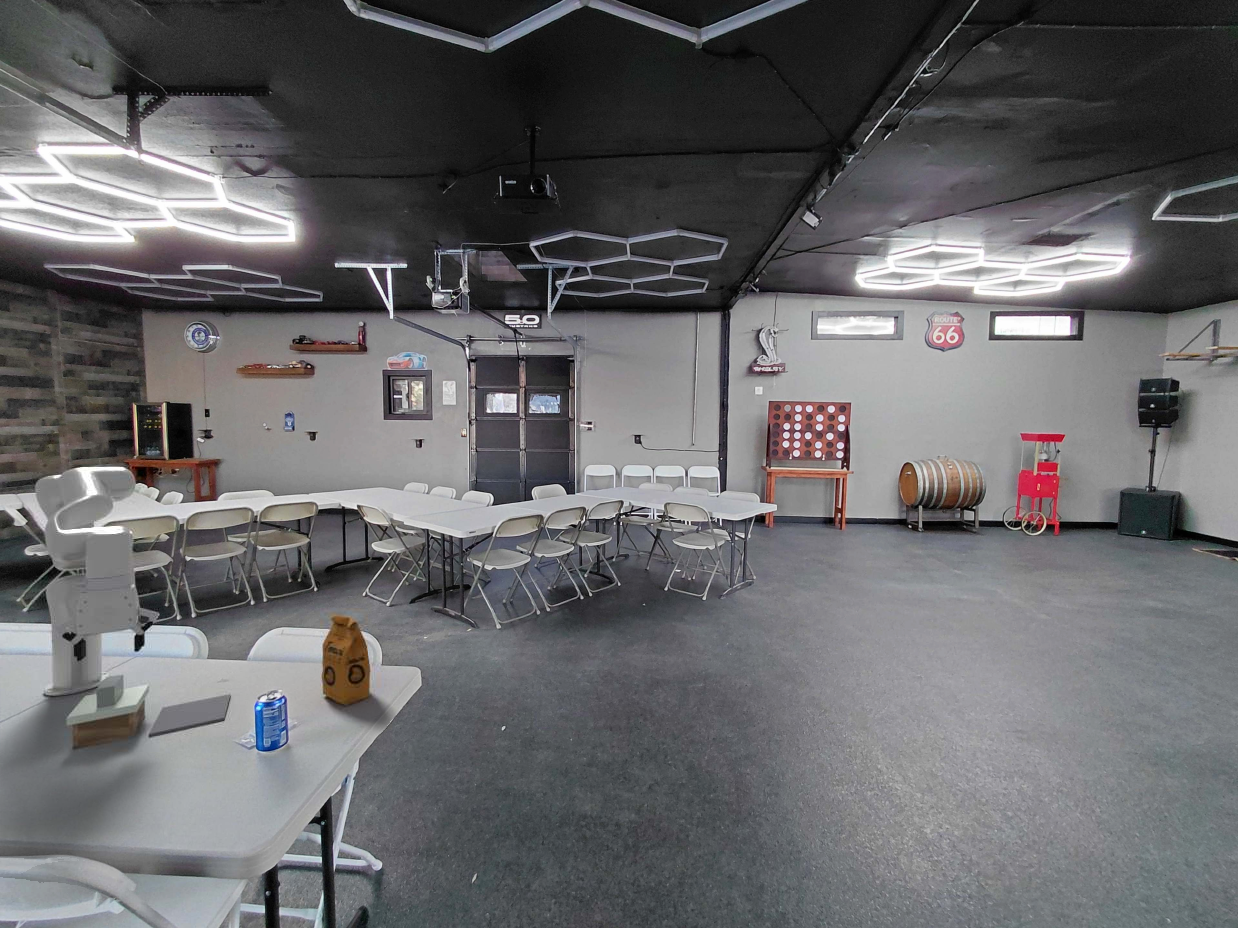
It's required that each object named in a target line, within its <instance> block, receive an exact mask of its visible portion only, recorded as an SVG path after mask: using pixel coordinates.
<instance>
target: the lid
mask: <svg viewBox="0 0 1238 928" xmlns="http://www.w3.org/2000/svg"><path fill="white" fill-rule="evenodd" d="M124 681H125V680H124V674H118V675H117V674H115V675H112V676H110V677H106V678H105V679H104V681H103V682H102V683H101V684H100V685H99V686H97V688H96V689H95V691H96V693H95V694H88V695H84V697H82V699H81V700H80V701H79V702H78V703H77V705H76V706H75V707H74V709H72V711H71V712H70V713H69V714H68V716H67V717H66V726H67V727H68V726H73V724H78V723H83V722H88V721H93V720H98V719H103V718H108V717H113V716H118V715H123V714H128V713H133V712H137V710H138V709H139V707H140V706H141V704H142V702H143V701H144V699H146V697H147V696H148V694H149V693H150V684H146V685H145V684H144V685H138V686H133V687H127V688H124V684H125V683H124Z"/></svg>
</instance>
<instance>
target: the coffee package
mask: <svg viewBox="0 0 1238 928" xmlns="http://www.w3.org/2000/svg"><path fill="white" fill-rule="evenodd" d="M330 621H331V622H333V623H332V624H331V627H330V629H329V631H328V632H327V635H326V636H325V639H324V642H323V643H322V663H321V664H322V673H321V681H322V695H325V696H326V697H327V698H330V699H332V700H333V701H334V702H336V703H338V704H342V705H343V706H349V705H351V704H355V703H358V702H359V701H362V700H365V699H367V698H369V697H370V695H371V694H370V690H371V689H370V687H371V686H370V685H371V684H370V683H371V682H370V678H371V664H370V658H369V657H370V656H369V650H368V645H367V643H366V639H365V637H364V635H363V633H362V631H361V629H360V627H359V625H358V622H357V621H355V620H354V619H353V618H351V617H348V616H344V615H340V614H334V615H333V616H331V619H330Z"/></svg>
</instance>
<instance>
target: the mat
mask: <svg viewBox="0 0 1238 928" xmlns="http://www.w3.org/2000/svg"><path fill="white" fill-rule="evenodd" d="M230 701H231V694H230V693H229V694H224V695H218V696H214V697H209V698H204V699H199V700H195V701H190V702H185V703H184V702H183V703H180V704H174V705H169V706H164V707H162V708H161V710H160V712H159V714H158V715H157V718H156V719H155V721H154V724H153V725H152V727H151V729H150V731H149V733H148V737H153V736H159V735H163V734H166V733H167V734H168V733H171V732H177V731H181V730H185V729H189V728H194V727H199V726H204V725H208V724H212V723H217V722H222V721H224V720H225V718H226V714H227V712H228V711H227V710H228V707H229V703H230Z"/></svg>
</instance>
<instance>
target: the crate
mask: <svg viewBox="0 0 1238 928" xmlns="http://www.w3.org/2000/svg"><path fill="white" fill-rule="evenodd" d="M145 699H146V698H145ZM145 699H144V701H143V702H142V704H141V706H140V707H139V709H138V710H137V712H133V713H128V714H123V715H118V716H113V717H108V718H103V719H98V720H93V721H88V722H83V723H78V724H73V725H72V750H77V749H82V748H86V747H90V746H95V745H99V744H105V743H109V742H115V741H118V740H123V739H127V738H132V737H133V738H134V736H135V735H136V733H137V731H138V729H140V726H141V724H142V723H143V721H144V719H145V717H146V710H145V709H146V704H145V703H146V701H145Z"/></svg>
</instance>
